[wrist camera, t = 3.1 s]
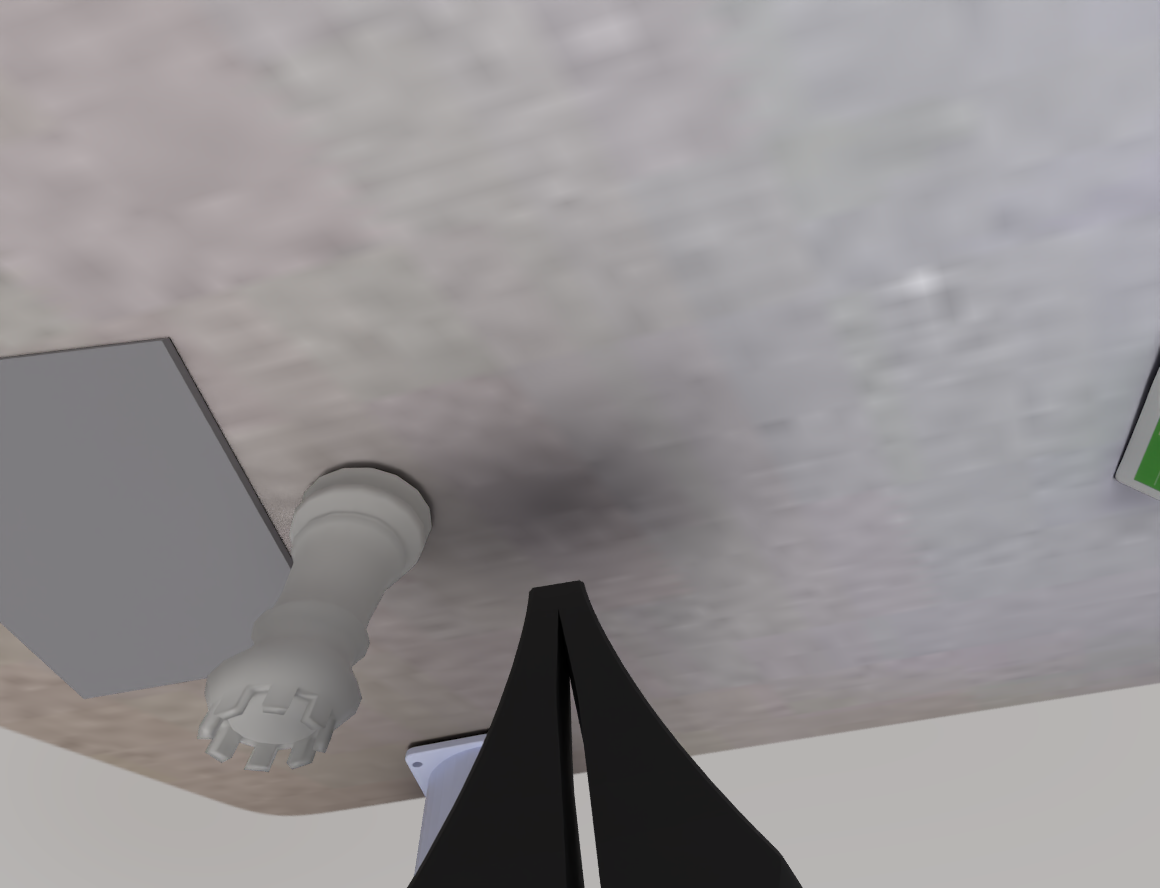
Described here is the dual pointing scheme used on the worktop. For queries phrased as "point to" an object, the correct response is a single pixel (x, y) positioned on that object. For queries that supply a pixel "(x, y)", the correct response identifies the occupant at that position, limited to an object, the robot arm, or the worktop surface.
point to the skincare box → (1144, 448)
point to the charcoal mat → (126, 521)
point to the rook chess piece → (317, 620)
